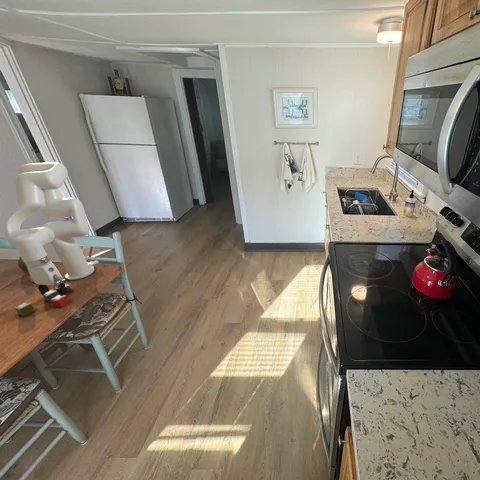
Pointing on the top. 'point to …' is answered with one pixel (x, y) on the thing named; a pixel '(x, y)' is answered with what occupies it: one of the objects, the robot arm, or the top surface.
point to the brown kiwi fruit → (22, 265)
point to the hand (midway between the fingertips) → (55, 293)
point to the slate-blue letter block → (50, 295)
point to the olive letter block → (24, 309)
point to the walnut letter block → (66, 288)
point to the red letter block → (60, 300)
